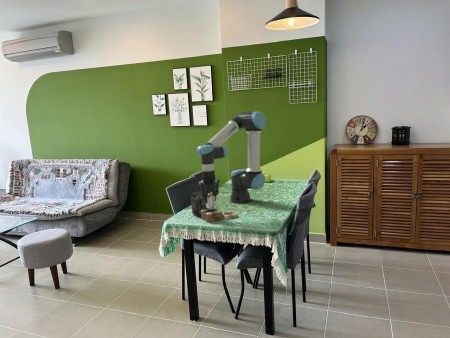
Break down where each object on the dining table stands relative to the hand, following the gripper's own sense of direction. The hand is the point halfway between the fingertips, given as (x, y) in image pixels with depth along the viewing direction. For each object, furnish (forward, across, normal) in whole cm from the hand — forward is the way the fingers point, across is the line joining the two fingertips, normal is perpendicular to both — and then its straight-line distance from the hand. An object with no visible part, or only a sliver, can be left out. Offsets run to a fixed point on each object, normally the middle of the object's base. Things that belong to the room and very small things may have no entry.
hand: (210, 206), depth 212 cm
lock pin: (+5, 0, 0) cm, 5 cm away
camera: (+8, +2, -12) cm, 14 cm away
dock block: (+8, 0, 0) cm, 8 cm away
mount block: (+8, -11, +2) cm, 14 cm away
